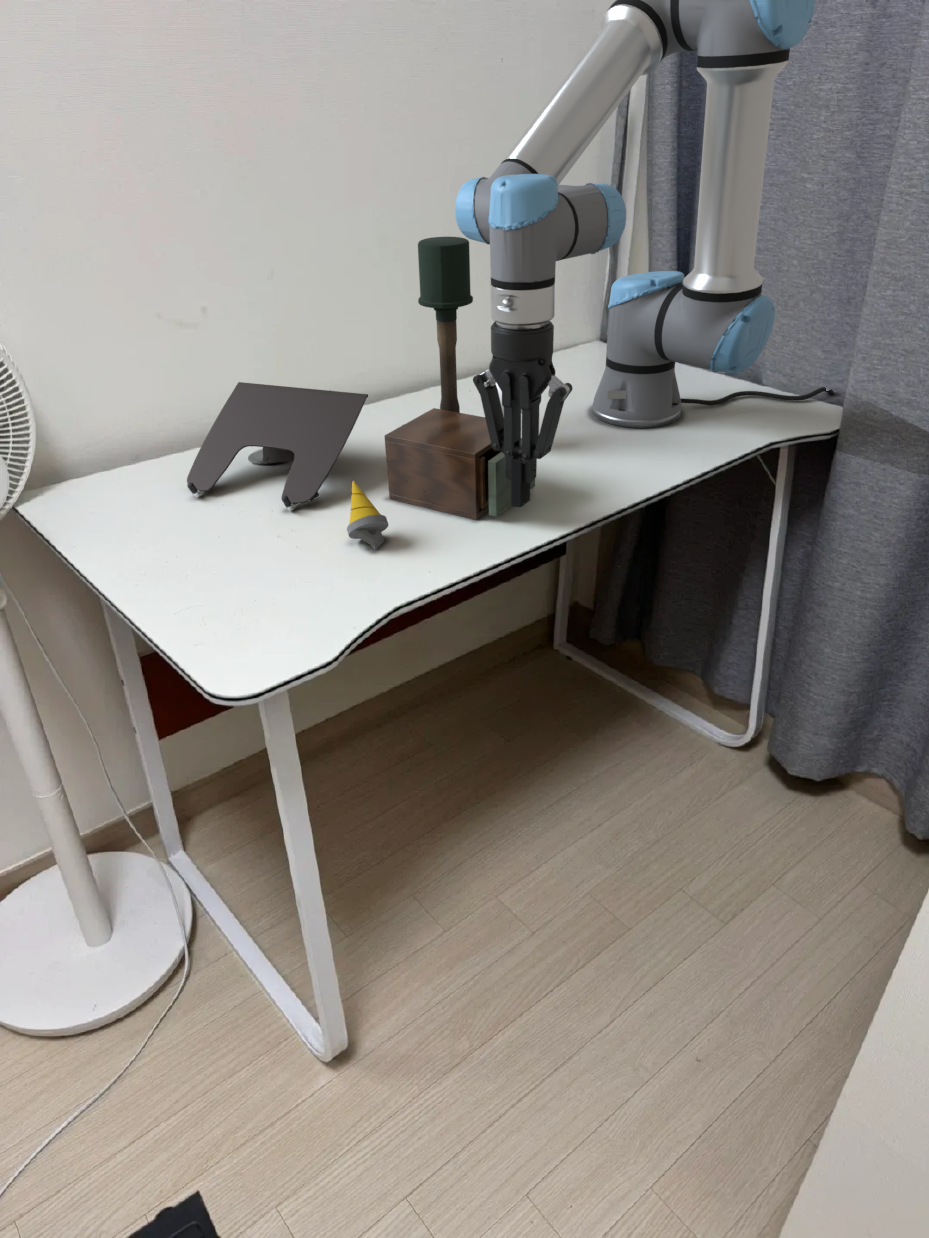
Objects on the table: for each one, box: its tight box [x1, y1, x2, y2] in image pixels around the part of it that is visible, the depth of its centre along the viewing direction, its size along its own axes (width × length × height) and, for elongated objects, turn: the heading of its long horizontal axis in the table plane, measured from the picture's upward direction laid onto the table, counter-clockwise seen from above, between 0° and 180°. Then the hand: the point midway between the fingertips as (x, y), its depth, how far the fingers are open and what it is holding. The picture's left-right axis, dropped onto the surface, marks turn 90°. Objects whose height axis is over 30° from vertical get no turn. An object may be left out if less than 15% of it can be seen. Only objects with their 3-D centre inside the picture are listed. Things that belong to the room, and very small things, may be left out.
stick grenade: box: [417, 236, 474, 413], centre depth 138 cm, size 8×9×30 cm
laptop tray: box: [186, 381, 369, 511], centre depth 130 cm, size 23×23×9 cm
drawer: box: [478, 437, 536, 518], centre depth 121 cm, size 15×11×8 cm
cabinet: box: [384, 407, 492, 521], centre depth 122 cm, size 15×13×10 cm
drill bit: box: [346, 480, 389, 551], centre depth 112 cm, size 5×5×10 cm
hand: (520, 502), depth 115 cm, fingers closed
